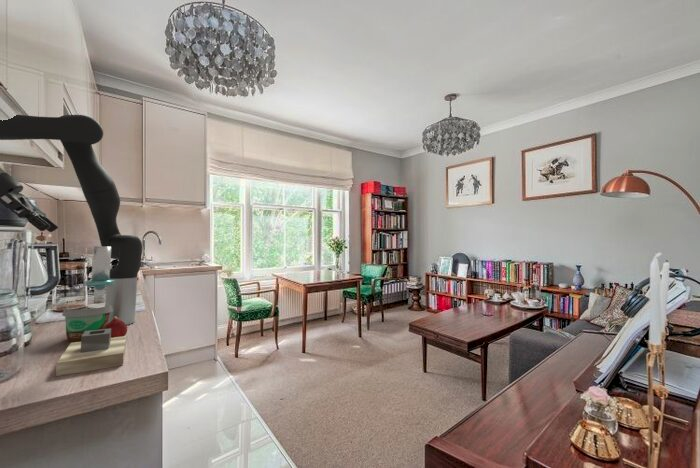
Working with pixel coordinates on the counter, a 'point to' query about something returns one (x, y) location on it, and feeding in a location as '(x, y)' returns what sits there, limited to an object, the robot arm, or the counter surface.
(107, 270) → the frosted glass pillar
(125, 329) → the onion
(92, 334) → the wooden base with socket
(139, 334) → the counter surface
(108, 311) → the food container
